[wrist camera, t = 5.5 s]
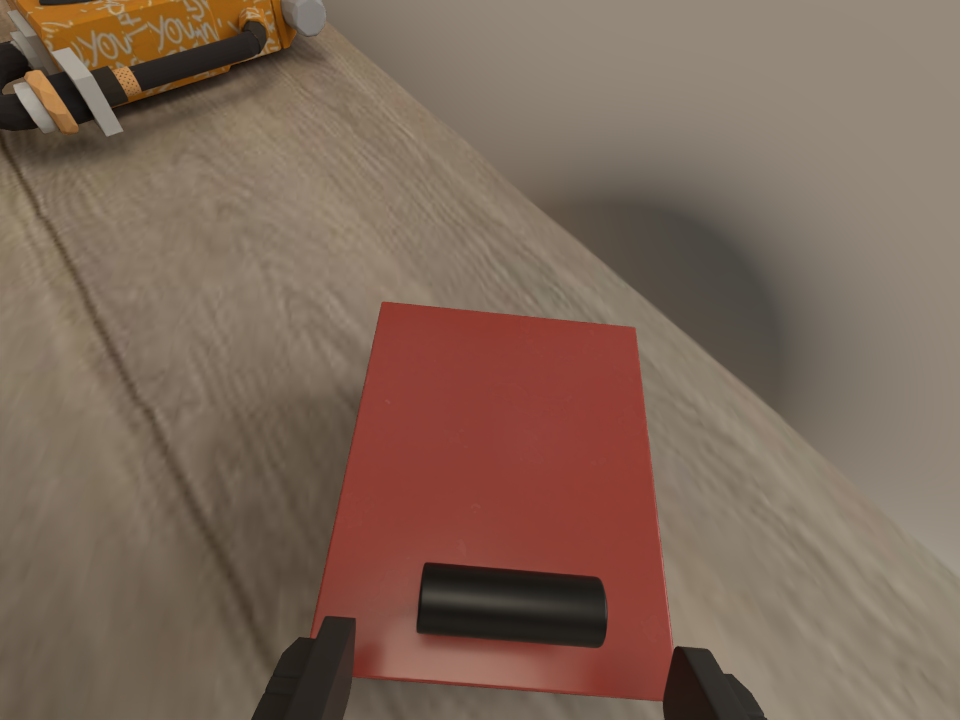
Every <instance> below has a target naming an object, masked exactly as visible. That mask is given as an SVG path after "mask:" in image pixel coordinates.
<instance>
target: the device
mask: <svg viewBox="0 0 960 720" xmlns="http://www.w3.org/2000/svg"><path fill="white" fill-rule="evenodd" d="M6 1H7V3H8V4H9V6H10V7H11V9H12V11H9V12H7V13H8V15H9V17H10V18H11V20H12V21H13V23H14V24H15V26H16V28H17V29H18V31H15V32H11V33H10V34H11V36H12V38H13V40H12V41H8V42H3V43H0V129H5V130H11V131H17V130H28V129H35V128H38V127H39V128H40V129H41V131H42V132H43V133H44V134H47V133H51V132H55V131H58V130H60V131H61V133H62V134H66V135H71V134H74V133H78V129H79V128H78V124H81V123H84V122H87V121H90V120H94V121H95V122H96V123H97V125H98V126H99V127H100V128H101V130H102V131H103V132H104V134H105V135H106V136H110V135H113V134H116V133H119V132H122V131H123V129H122V127H121V126H120V124H119V122H118V120H117V118H116V117H115V115H114V113H113V111H112V109H111V108H114V107H117V106H121V105H124V104H127V103H130V102H133V101H136V100H140V99H143V98H146V97H149V96H152V95H155V94H159V93H162V92H165V91H168V90H171V89H174V88H178V87H181V86H184V85H187V84H190V83H193V82H197V81H200V80H203V79H206V78H209V77H212V76H216V75H219V74H222V73H225V72H228V71H229V69H230V67H231V65H234V64H237V63H240V62H243V61H246V60H250V59H253V58H256V57H259V56H262V55H266V54H269V53H272V52H275V51H278V50H280V49H281V47H282V48H284V49H285V48H288V47H290V45H291V43H292V41H293V38H294V36H295V34H296V32H298V33H299V34H301V35H304V36H306V37H311V36H316V35H317V34H318V33H319V32H320V31H321V30H322V29H323V27H324V25H325V20H326V11H325V8H324V5H323V3H322V1H321V0H6ZM22 77H24V79H25V80H26V82H22V83H18V84H15V85H13V86H14V90H15V92H16V93H15V94H8V95H3V93H2V89H3V88H4V86H5V85H6V84H7V83H9V82H11V81H13V80H16V79H19V78H22Z"/></svg>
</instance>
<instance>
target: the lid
mask: <svg viewBox="0 0 960 720" xmlns="http://www.w3.org/2000/svg"><path fill="white" fill-rule="evenodd" d="M325 616H338V617H349V618H356V634H355V650H354V667H353V677H356V678H369V679H382V680H394V681H407V682H420V683H433V684H445V685H458V686H471V687H484V688H496V689H509V690H522V691H535V692H547V693H560V694H573V695H586V696H599V697H611V698H624V699H637V700H650V701H662V702H663V696H664V691H665V686H666V682H667V677H668V673H669V668H670V664H671V659H672V655H673V651H674V649H673V641H672V632H671V624H670V615H669V607H668V599H667V590H666V582H665V573H664V565H663V556H662V548H661V539H660V531H659V523H658V514H657V506H656V497H655V489H654V480H653V472H652V463H651V455H650V447H649V438H648V430H647V421H646V413H645V404H644V396H643V388H642V379H641V371H640V362H639V354H638V345H637V337H636V329H635V328H634V327H626V326H616V325H606V324H597V323H587V322H577V321H567V320H558V319H548V318H538V317H528V316H519V315H509V314H499V313H489V312H479V311H470V310H460V309H450V308H440V307H431V306H421V305H411V304H401V303H392V302H382V304H381V308H380V313H379V318H378V322H377V327H376V331H375V336H374V341H373V345H372V350H371V355H370V359H369V364H368V369H367V373H366V378H365V383H364V387H363V392H362V396H361V401H360V406H359V410H358V415H357V420H356V424H355V429H354V434H353V438H352V443H351V447H350V452H349V457H348V461H347V466H346V471H345V475H344V480H343V485H342V489H341V494H340V499H339V503H338V508H337V512H336V517H335V522H334V526H333V531H332V536H331V540H330V545H329V550H328V554H327V559H326V564H325V568H324V573H323V577H322V582H321V587H320V591H319V596H318V601H317V605H316V610H315V615H314V619H313V624H312V629H311V633H310V638H316V636H317V634H318V632H319V629H320V627H321V624H322V622H323V619H324V617H325Z"/></svg>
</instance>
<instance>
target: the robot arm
mask: <svg viewBox="0 0 960 720" xmlns="http://www.w3.org/2000/svg"><path fill="white" fill-rule="evenodd" d="M355 634H356V618H349V617H338V616H325V617H324V619H323V622H322V624H321V627H320V629H319V632H318V634H317V636H316V638H304V637H299V638H298V639H297V640H296V641H295V642H294V643H293V644H292V645H291V646H290V647H288V648H287V649H286V650H285V651H284V652H283V653H282V655H281V658H280V660H279V662H278V664H277V666H276V668H275V670H274V672H273V676H272V677H271V679H270V681H269V683H268V685H267V687H266V690H265V693H264V694H263V696H262V698H261V700H260V702H259V704H258V706H257V708H256V711H255V713H254V715H253V717H252V719H251V720H343V716H344V713H345V709H346V705H347V702H348V698H349V694H350V689H351V683H352V677H353V667H354V650H355ZM663 712H664V718H665V720H767V718H765V717H764V713H763V711H762V710H761V708H760V707H759V705H758V703H757V702H756V700H755V698H754V697H753V695H752V694H751V692H750V691H749V690H748V689H747V688H746V687H744V686H743V685H742V684H741V683H740V682H739V681H738V680H737V679H736V678H735V677H734V676H733V675H732V674H723V672H722V670H721V668H720V667H719V665H718V663H717V662H716V660H715V658H714V656H713V655H712V653H711V652H710V651H709V650H708V649H703V648H691V647H680V646H678V647H676V648H675V649H674V651H673V655H672V659H671V664H670V668H669V673H668V677H667V682H666V686H665V691H664V696H663Z"/></svg>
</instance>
